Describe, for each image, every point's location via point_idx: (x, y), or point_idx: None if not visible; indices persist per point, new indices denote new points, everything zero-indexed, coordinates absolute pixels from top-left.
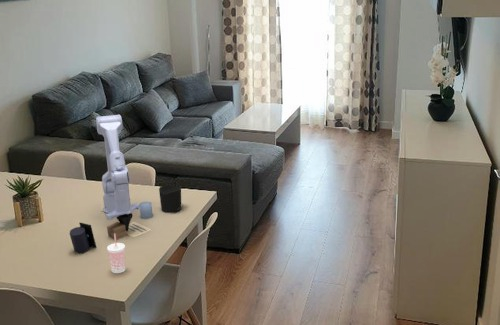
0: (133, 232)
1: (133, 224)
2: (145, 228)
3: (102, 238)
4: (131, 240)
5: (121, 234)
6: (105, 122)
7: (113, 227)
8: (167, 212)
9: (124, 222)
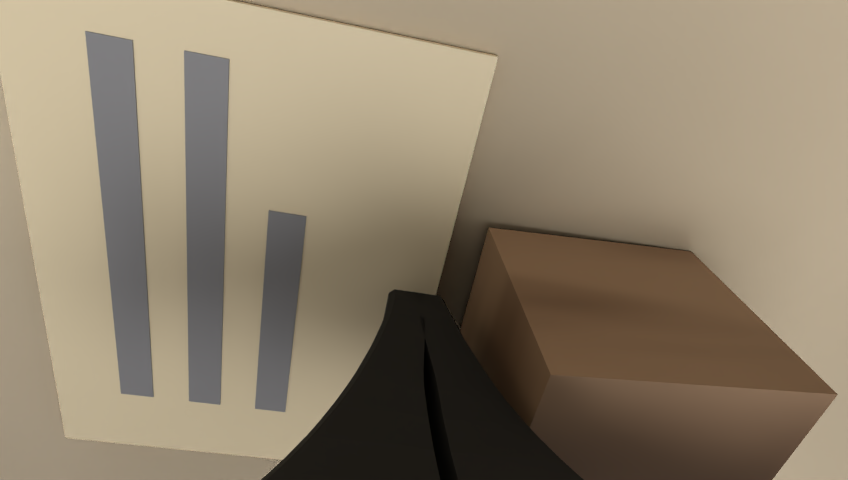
0: (337, 202)
1: (135, 385)
2: (64, 124)
3: None
4: (607, 10)
5: (606, 271)
6: None
7: (722, 476)
8: None
9: (537, 446)
